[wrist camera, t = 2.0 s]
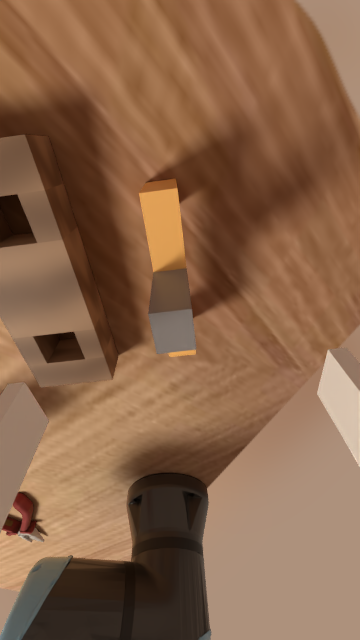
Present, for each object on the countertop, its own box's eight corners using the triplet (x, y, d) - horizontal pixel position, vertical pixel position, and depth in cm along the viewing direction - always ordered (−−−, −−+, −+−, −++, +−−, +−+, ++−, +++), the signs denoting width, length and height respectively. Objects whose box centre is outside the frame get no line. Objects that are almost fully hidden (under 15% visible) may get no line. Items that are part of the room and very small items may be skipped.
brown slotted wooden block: (118, 355, 32) (112, 379, 29) (53, 362, 33) (40, 387, 29) (48, 136, 20) (24, 134, 17) (-53, 150, 21) (-96, 151, 17)
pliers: (15, 536, 61) (10, 551, 59) (-34, 494, 50) (-44, 510, 48) (64, 532, 61) (60, 546, 59) (24, 488, 50) (18, 504, 48)
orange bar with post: (191, 318, 30) (202, 406, 20) (169, 321, 30) (169, 410, 20) (175, 178, 22) (180, 205, 12) (146, 182, 22) (126, 212, 12)
